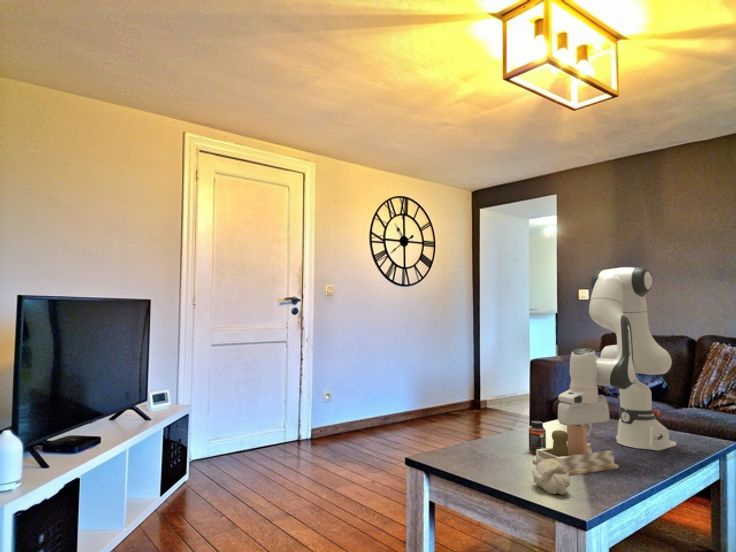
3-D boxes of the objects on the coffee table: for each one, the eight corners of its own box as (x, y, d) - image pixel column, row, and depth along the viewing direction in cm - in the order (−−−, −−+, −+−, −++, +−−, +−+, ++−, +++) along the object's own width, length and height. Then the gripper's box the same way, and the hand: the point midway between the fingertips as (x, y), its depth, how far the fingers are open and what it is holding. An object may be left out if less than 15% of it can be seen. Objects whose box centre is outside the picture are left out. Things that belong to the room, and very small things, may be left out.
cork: (547, 461, 163) (547, 428, 164) (564, 461, 163) (564, 428, 164) (555, 467, 157) (555, 433, 158) (573, 467, 157) (572, 433, 158)
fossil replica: (555, 501, 132) (579, 497, 137) (559, 470, 132) (582, 468, 137) (522, 483, 143) (544, 481, 147) (525, 455, 143) (547, 453, 148)
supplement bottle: (547, 456, 173) (546, 424, 174) (530, 454, 174) (529, 423, 175) (544, 451, 179) (544, 420, 180) (528, 450, 180) (527, 419, 181)
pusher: (571, 458, 166) (570, 423, 167) (587, 464, 160) (586, 427, 161) (567, 458, 166) (566, 423, 167) (583, 465, 159) (583, 428, 160)
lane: (585, 456, 173) (585, 442, 174) (618, 468, 160) (618, 452, 161) (532, 463, 164) (532, 448, 165) (562, 476, 151) (562, 460, 152)
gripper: (598, 392, 172) (599, 432, 171) (554, 395, 165) (555, 436, 164) (613, 395, 167) (614, 436, 166) (568, 398, 159) (569, 441, 158)
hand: (584, 436), depth 165 cm, fingers closed
